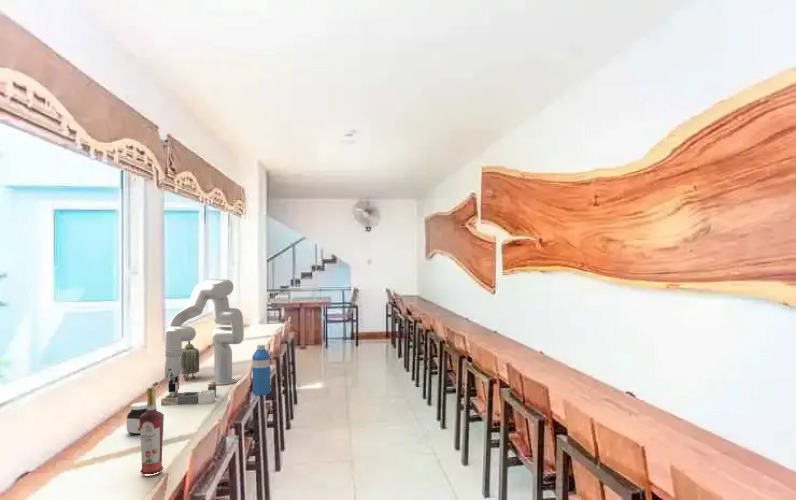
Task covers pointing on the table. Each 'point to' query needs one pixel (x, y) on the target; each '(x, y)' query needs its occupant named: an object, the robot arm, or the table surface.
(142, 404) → the spread jar
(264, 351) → the water bottle
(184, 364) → the olive tall ribbed piece
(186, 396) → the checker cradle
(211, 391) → the cup
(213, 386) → the black cell
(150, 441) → the liquor
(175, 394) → the cylinder
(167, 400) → the trough
